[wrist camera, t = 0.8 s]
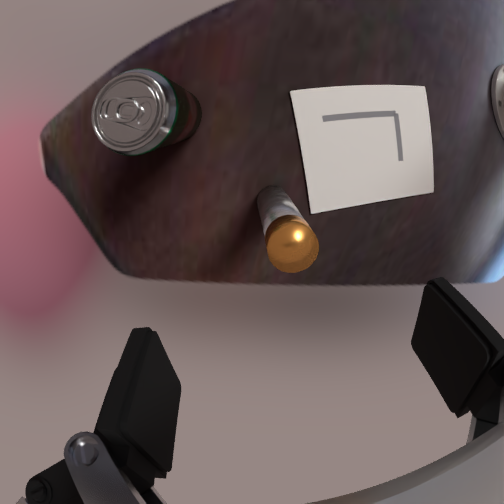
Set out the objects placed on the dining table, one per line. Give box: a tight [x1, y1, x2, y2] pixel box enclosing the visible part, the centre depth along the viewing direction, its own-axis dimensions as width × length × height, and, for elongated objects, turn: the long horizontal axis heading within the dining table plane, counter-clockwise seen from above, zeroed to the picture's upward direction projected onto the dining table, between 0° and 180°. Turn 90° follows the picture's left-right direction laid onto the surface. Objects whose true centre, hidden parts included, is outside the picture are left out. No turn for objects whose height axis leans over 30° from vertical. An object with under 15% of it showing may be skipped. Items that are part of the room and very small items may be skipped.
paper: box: [290, 85, 434, 214], centre depth 24 cm, size 15×12×1 cm
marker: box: [257, 186, 319, 273], centre depth 22 cm, size 3×3×11 cm
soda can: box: [91, 69, 202, 156], centre depth 17 cm, size 5×5×12 cm
